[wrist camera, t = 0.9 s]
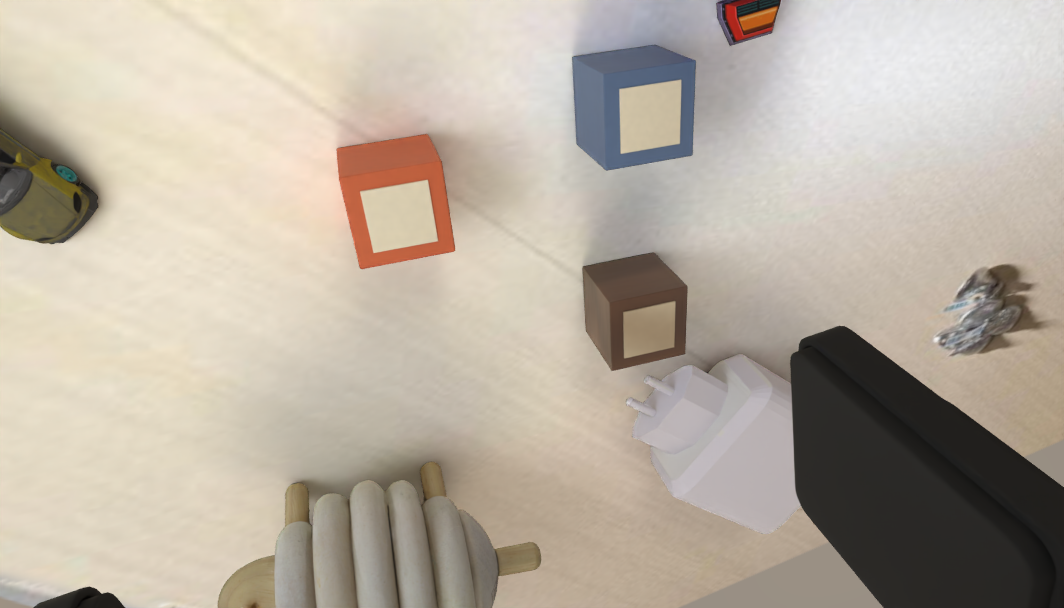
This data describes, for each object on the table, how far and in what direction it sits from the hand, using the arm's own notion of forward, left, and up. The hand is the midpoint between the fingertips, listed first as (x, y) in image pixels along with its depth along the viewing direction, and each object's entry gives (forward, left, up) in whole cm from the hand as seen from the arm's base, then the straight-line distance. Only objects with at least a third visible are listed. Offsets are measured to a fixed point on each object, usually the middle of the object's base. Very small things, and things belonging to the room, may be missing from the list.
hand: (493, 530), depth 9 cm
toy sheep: (+20, -14, -26) cm, 35 cm away
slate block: (+6, +10, -26) cm, 28 cm away
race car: (-6, -14, -26) cm, 30 cm away
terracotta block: (+4, -1, -26) cm, 26 cm away
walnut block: (+16, +5, -26) cm, 31 cm away
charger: (+28, +6, -26) cm, 38 cm away
